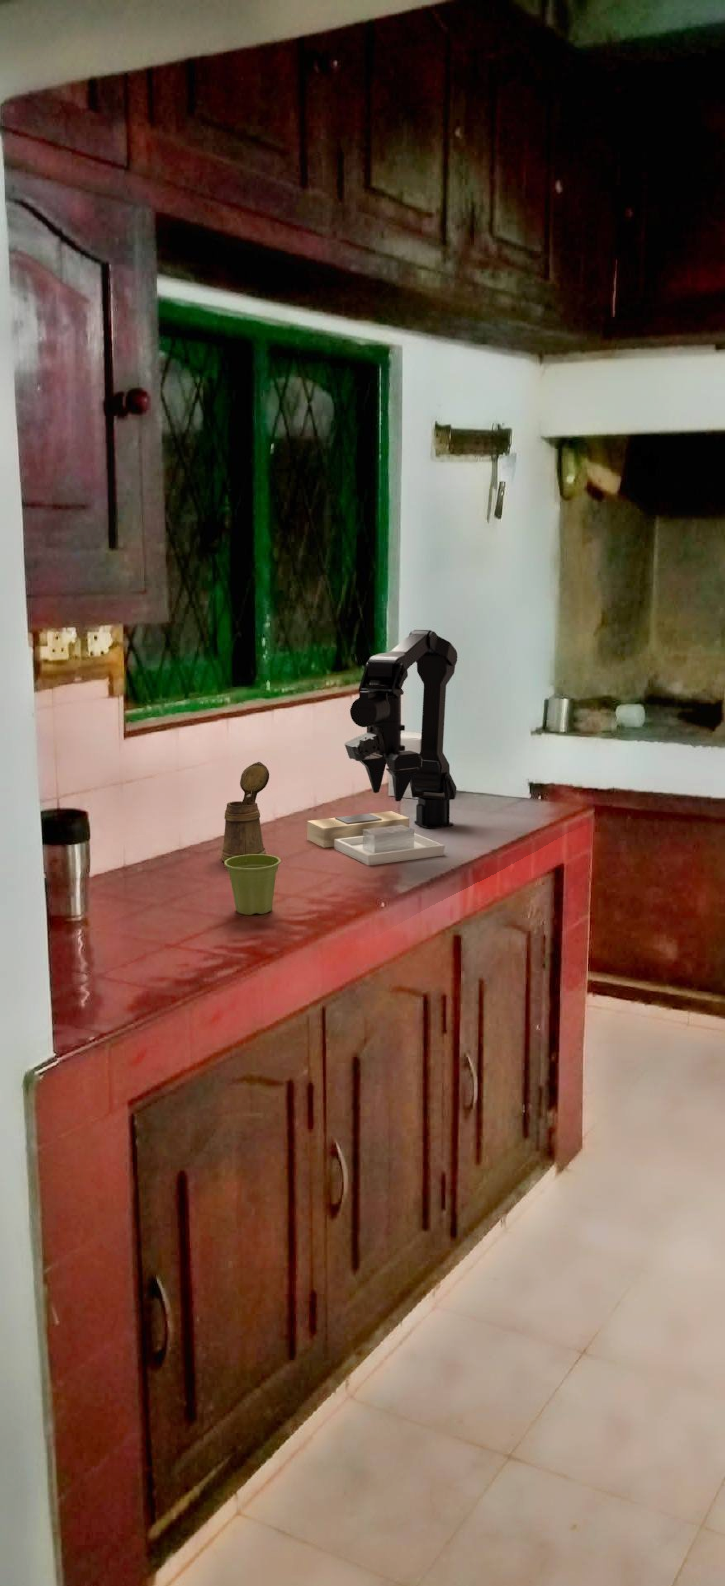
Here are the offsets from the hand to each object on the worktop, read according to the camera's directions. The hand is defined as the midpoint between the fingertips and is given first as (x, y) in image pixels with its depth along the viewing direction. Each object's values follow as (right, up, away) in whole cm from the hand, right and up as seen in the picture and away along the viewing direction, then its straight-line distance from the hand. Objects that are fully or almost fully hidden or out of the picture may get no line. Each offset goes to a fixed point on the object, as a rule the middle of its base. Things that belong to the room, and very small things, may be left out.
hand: (386, 796), depth 250 cm
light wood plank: (-6, -9, +12) cm, 16 cm away
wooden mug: (-28, -12, -2) cm, 30 cm away
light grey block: (0, -10, 0) cm, 10 cm away
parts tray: (0, -11, 0) cm, 11 cm away
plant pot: (-23, -19, -39) cm, 49 cm away
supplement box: (+7, 0, +56) cm, 56 cm away
